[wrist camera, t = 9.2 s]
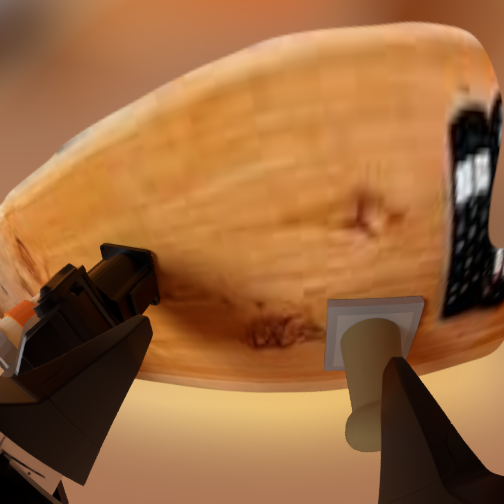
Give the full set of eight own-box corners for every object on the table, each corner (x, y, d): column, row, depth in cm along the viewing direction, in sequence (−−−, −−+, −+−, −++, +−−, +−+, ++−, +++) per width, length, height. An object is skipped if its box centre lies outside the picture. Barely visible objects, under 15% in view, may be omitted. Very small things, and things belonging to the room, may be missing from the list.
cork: (380, 365, 24) (388, 459, 15) (330, 354, 25) (324, 456, 15) (411, 325, 21) (437, 429, 12) (356, 311, 22) (366, 427, 12)
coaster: (324, 363, 27) (324, 371, 26) (327, 299, 23) (327, 307, 22) (402, 359, 25) (403, 367, 24) (421, 295, 21) (425, 303, 20)
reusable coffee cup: (91, 310, 32) (28, 385, 19) (89, 350, 39) (45, 411, 26) (36, 263, 31) (-29, 319, 18) (41, 309, 38) (-6, 360, 25)
